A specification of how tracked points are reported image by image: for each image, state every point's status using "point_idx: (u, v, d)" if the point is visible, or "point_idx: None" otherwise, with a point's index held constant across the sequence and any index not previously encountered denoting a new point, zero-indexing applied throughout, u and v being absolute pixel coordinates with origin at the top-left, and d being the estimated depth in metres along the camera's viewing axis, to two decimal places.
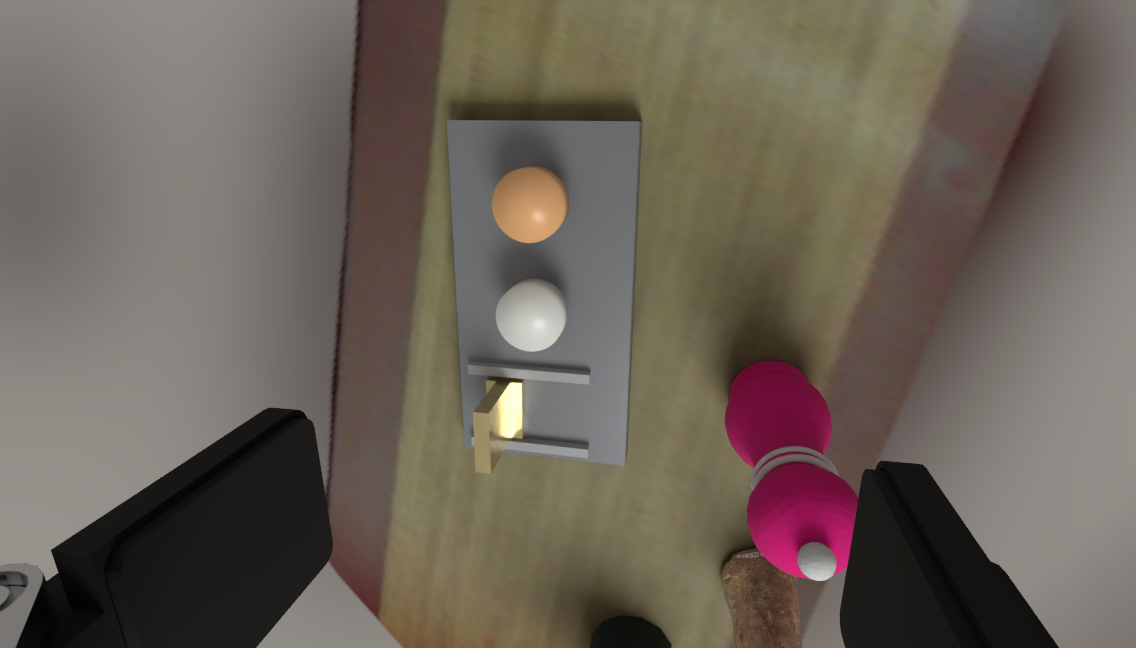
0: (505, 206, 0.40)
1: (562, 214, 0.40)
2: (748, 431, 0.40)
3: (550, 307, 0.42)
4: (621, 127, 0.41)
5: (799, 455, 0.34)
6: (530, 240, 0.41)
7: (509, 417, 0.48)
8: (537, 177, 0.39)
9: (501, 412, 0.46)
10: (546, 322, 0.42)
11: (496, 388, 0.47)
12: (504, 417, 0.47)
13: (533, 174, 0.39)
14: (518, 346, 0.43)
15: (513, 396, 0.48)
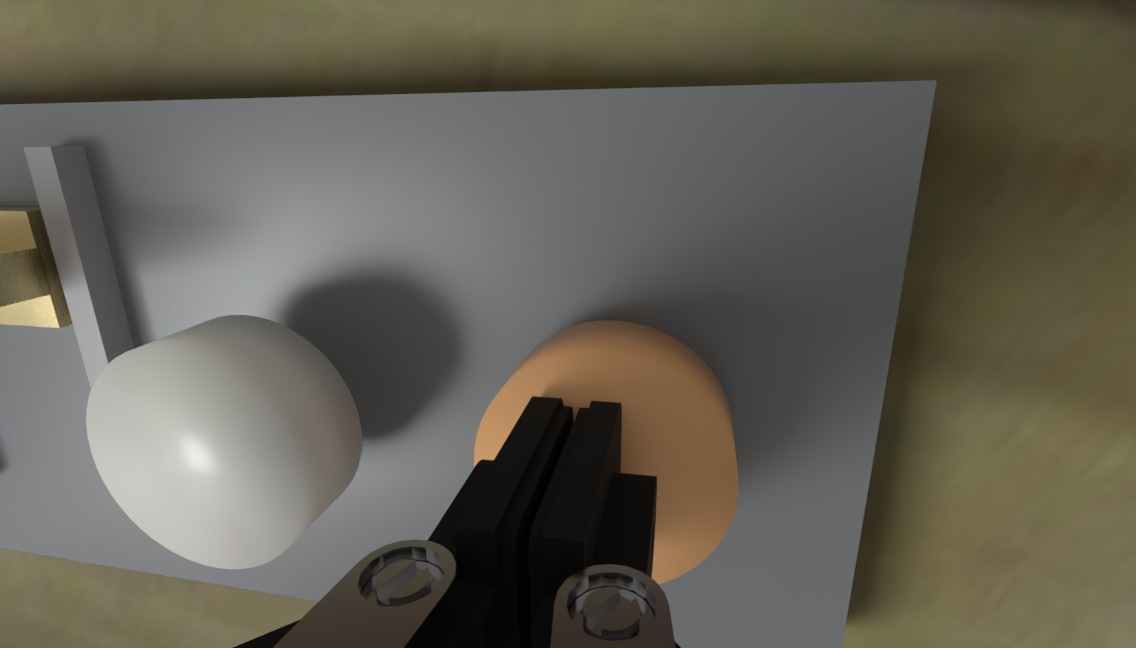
0: None
1: None
2: None
3: (249, 537, 0.12)
4: (823, 646, 0.14)
5: None
6: None
7: None
8: (702, 523, 0.11)
9: None
10: (199, 518, 0.12)
11: None
12: None
13: (713, 513, 0.11)
14: (93, 417, 0.12)
15: None
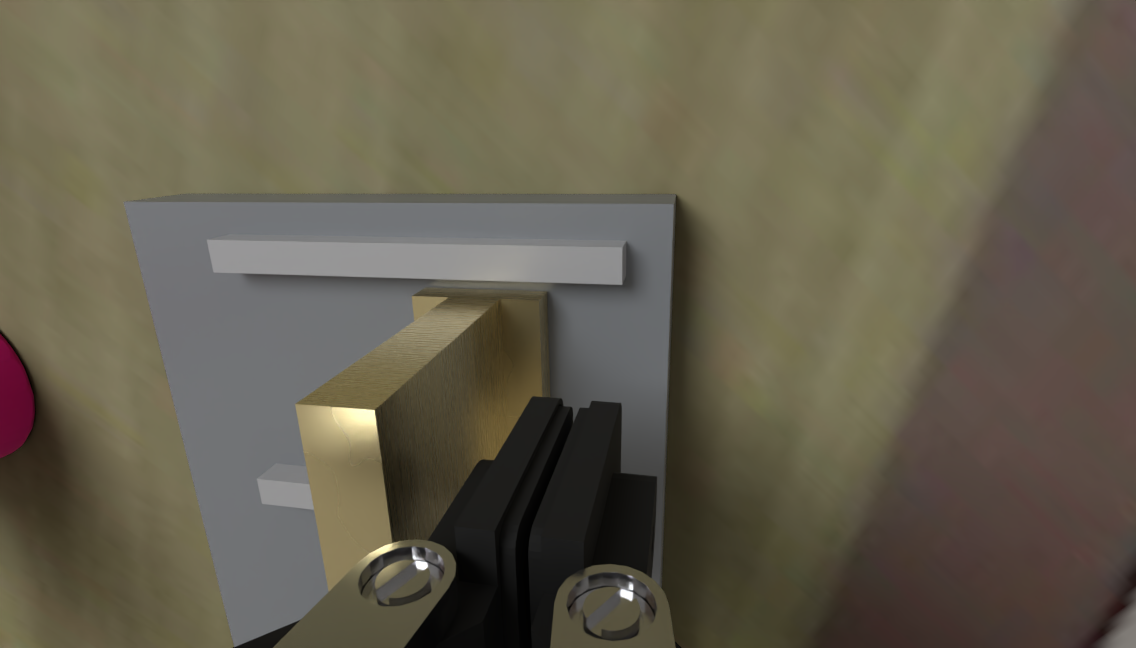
0: None
1: None
2: None
3: None
4: None
5: None
6: None
7: None
8: None
9: None
10: None
11: None
12: None
13: None
14: None
15: None
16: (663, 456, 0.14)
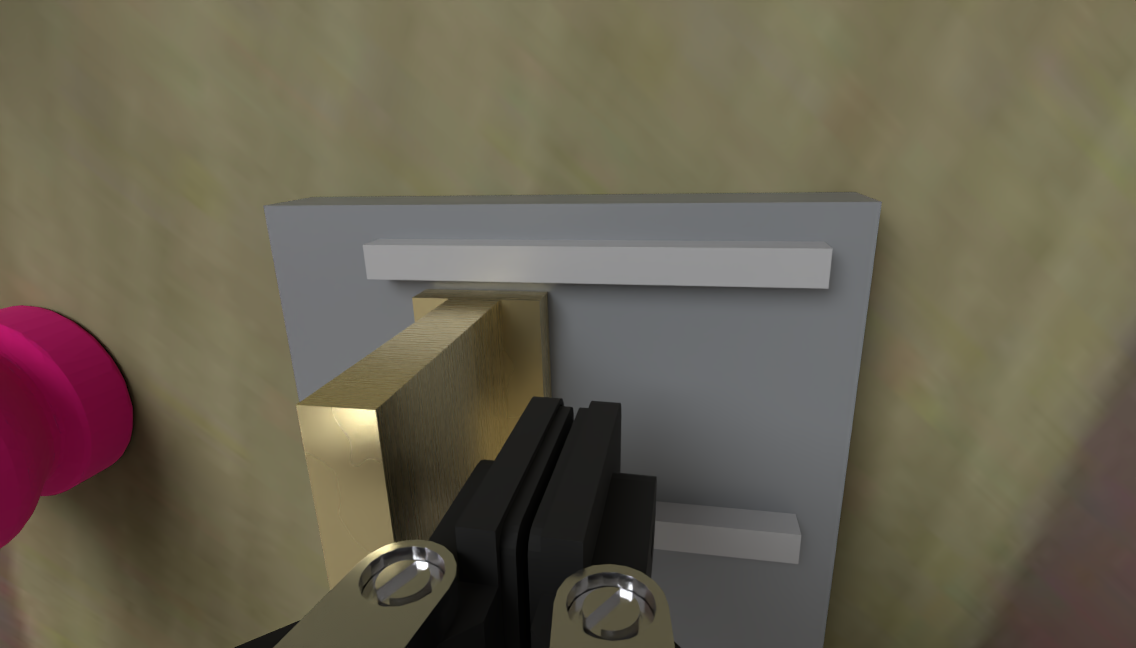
0: None
1: None
2: None
3: None
4: None
5: None
6: None
7: None
8: None
9: None
10: None
11: None
12: None
13: None
14: None
15: None
16: (844, 469, 0.14)
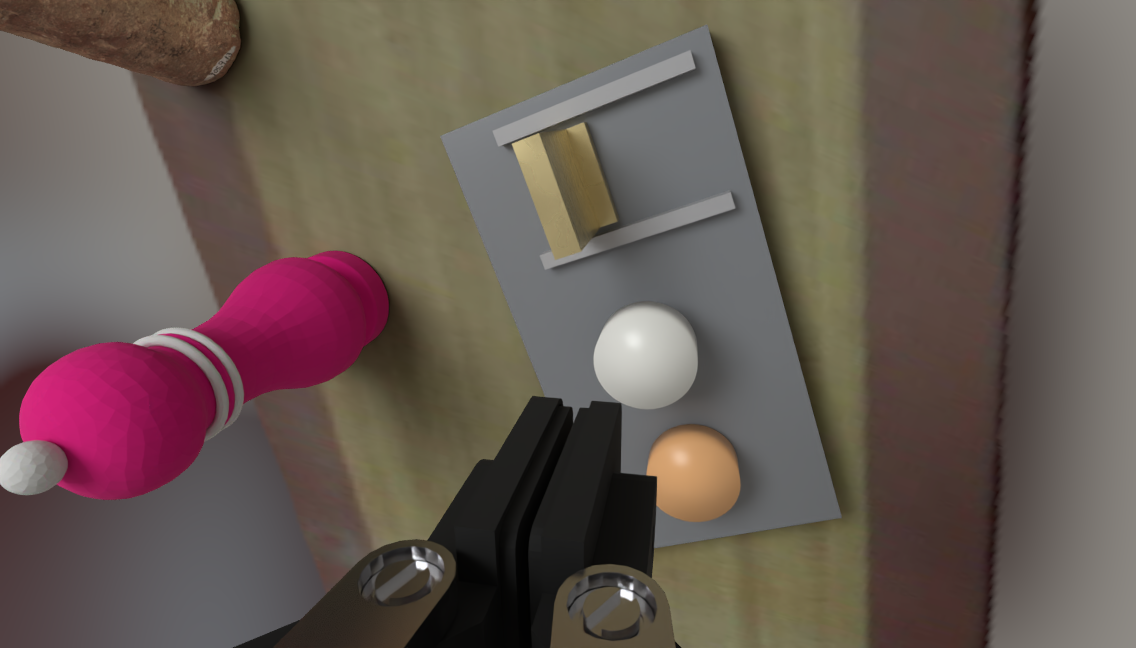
0: (720, 476, 0.32)
1: None
2: (303, 347, 0.30)
3: (620, 388, 0.29)
4: None
5: (205, 440, 0.26)
6: (676, 447, 0.31)
7: None
8: (689, 514, 0.33)
9: None
10: (618, 366, 0.29)
11: None
12: None
13: (695, 516, 0.33)
14: (647, 317, 0.28)
15: None
16: (742, 157, 0.28)
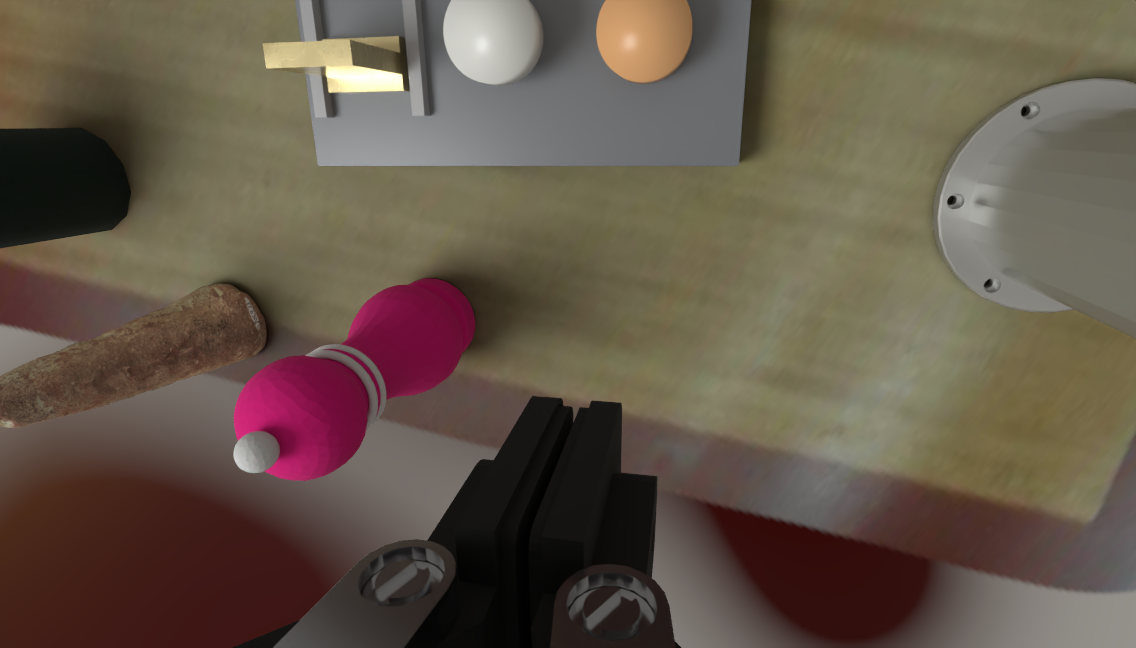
0: None
1: (633, 79, 0.32)
2: (391, 322, 0.35)
3: (507, 64, 0.31)
4: (733, 143, 0.34)
5: (375, 395, 0.30)
6: (599, 35, 0.31)
7: (353, 75, 0.36)
8: (680, 43, 0.31)
9: (358, 71, 0.33)
10: (486, 58, 0.31)
11: (390, 58, 0.34)
12: (352, 73, 0.34)
13: (684, 37, 0.31)
14: (447, 16, 0.31)
15: (383, 78, 0.36)
16: None
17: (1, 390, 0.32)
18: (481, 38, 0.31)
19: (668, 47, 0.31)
